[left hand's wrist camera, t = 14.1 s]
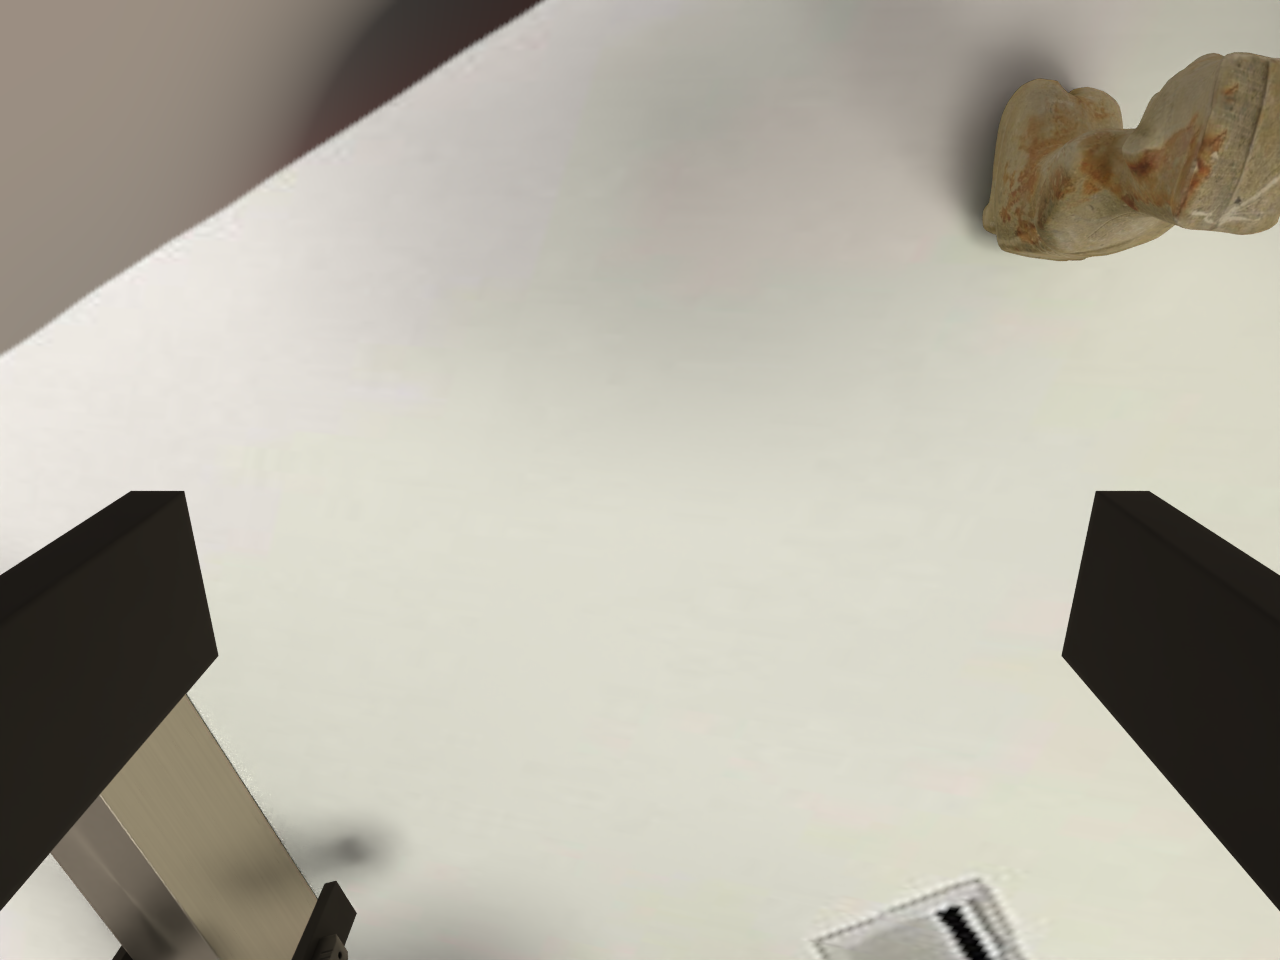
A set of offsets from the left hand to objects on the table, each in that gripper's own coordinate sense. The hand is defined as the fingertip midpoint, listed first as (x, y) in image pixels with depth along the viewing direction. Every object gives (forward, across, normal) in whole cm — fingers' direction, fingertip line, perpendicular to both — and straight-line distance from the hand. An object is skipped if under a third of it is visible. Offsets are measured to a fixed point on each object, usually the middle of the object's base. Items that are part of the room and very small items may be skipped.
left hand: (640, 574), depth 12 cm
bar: (+30, -27, -29) cm, 50 cm away
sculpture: (+30, +18, +5) cm, 36 cm away
